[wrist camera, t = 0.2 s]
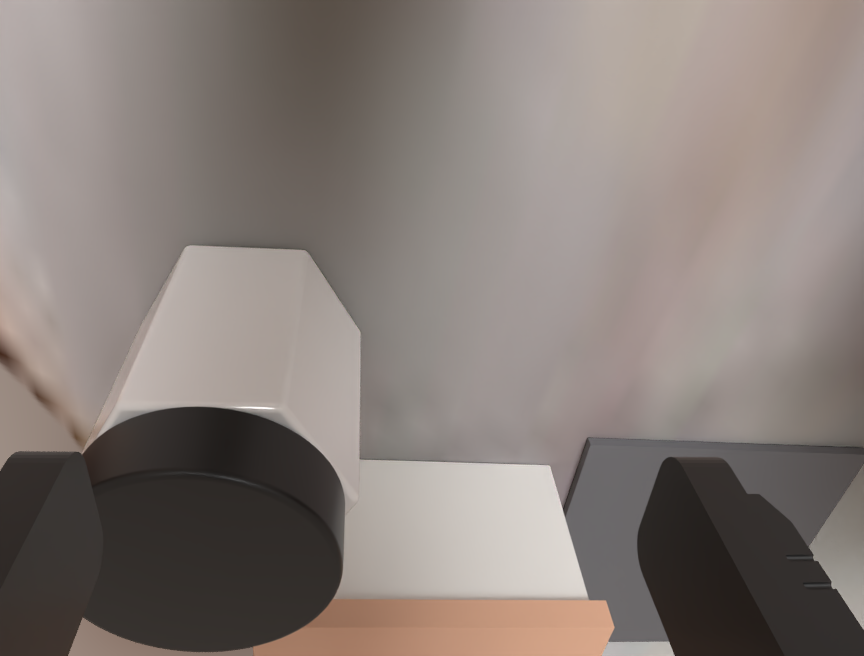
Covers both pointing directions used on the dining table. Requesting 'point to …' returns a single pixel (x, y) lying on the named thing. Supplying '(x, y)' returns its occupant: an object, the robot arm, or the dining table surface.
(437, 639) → the lid
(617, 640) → the mat
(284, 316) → the jar
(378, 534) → the storage box
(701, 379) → the dining table surface
